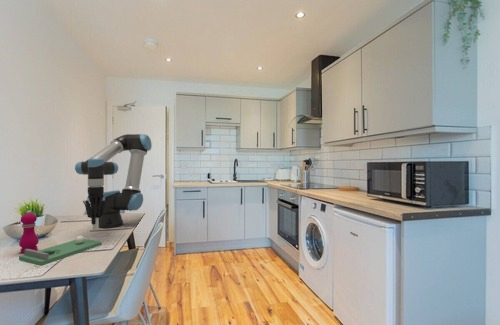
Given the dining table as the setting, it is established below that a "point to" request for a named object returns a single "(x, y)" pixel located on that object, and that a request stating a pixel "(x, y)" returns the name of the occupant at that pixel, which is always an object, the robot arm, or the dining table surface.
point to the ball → (79, 239)
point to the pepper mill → (28, 232)
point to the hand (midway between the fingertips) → (95, 229)
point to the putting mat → (57, 252)
